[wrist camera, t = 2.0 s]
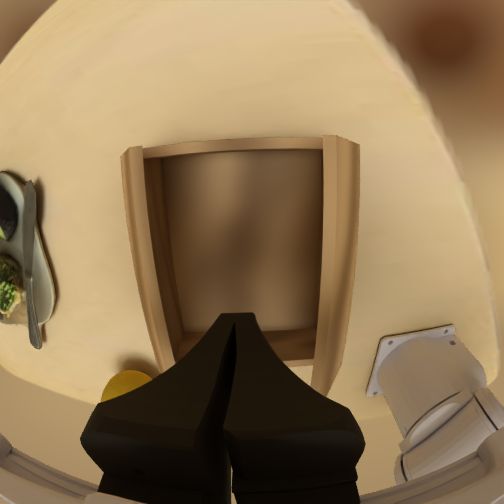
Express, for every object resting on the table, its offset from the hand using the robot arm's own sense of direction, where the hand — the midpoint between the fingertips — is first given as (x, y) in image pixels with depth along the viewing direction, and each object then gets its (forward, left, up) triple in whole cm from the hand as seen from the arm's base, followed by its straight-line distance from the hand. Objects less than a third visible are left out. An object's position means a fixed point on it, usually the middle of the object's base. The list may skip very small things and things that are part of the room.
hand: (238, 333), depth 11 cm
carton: (0, 0, -10) cm, 10 cm away
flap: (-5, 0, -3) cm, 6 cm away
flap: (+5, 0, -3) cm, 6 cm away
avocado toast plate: (+26, -1, -11) cm, 28 cm away
